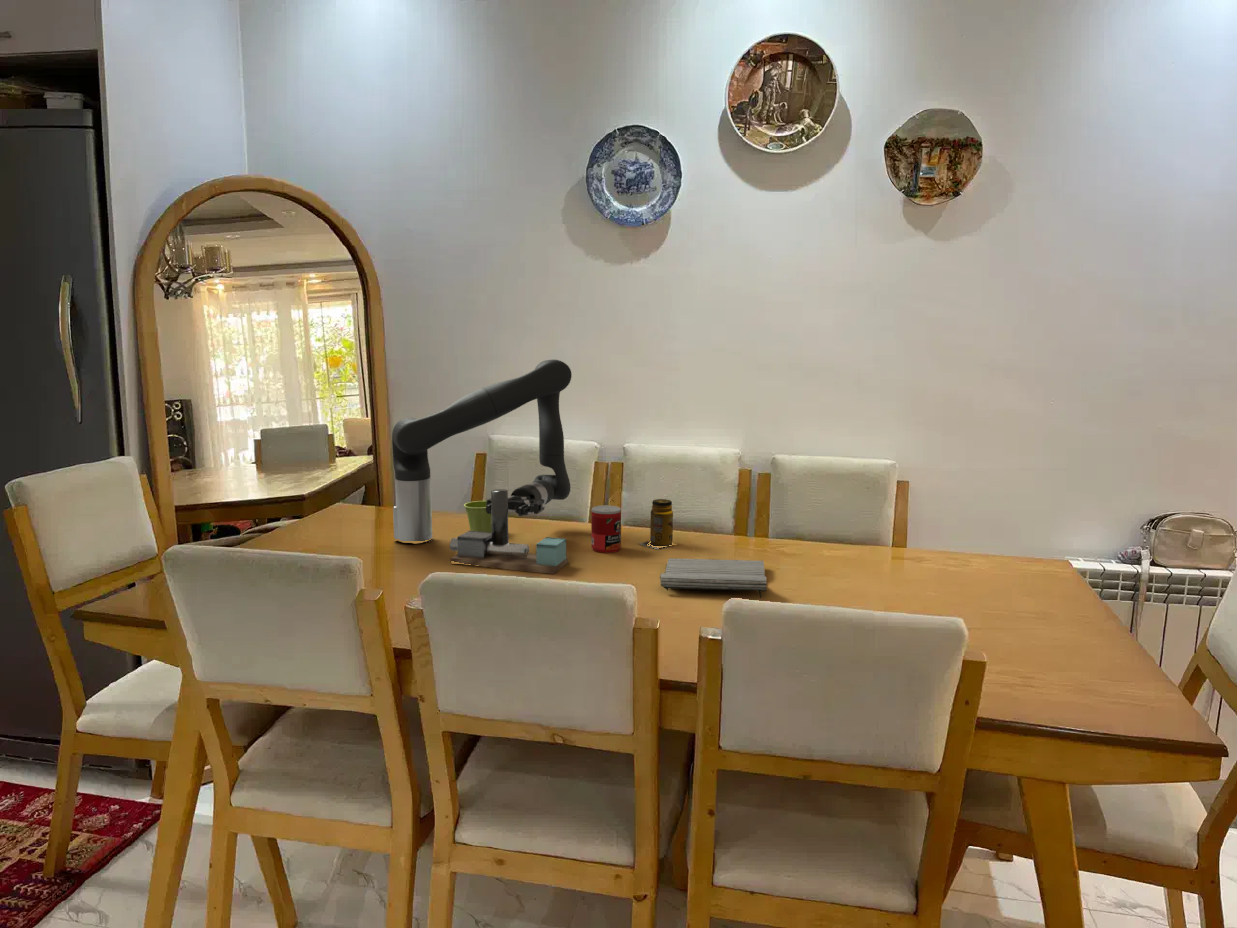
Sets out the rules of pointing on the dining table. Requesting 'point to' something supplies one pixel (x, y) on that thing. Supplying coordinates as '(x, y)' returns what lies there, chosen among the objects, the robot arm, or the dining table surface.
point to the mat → (714, 574)
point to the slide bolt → (499, 529)
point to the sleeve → (473, 544)
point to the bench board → (511, 563)
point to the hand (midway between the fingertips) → (503, 510)
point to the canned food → (606, 528)
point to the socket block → (551, 551)
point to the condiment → (661, 524)
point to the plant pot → (478, 516)
